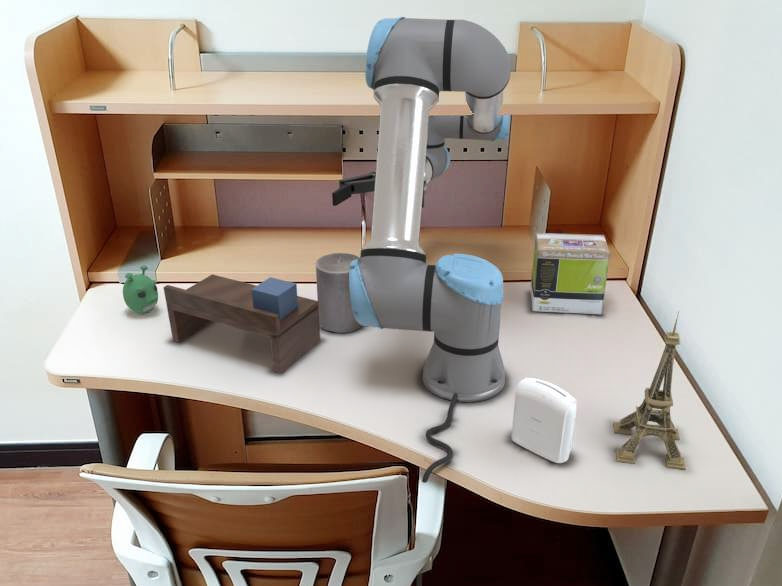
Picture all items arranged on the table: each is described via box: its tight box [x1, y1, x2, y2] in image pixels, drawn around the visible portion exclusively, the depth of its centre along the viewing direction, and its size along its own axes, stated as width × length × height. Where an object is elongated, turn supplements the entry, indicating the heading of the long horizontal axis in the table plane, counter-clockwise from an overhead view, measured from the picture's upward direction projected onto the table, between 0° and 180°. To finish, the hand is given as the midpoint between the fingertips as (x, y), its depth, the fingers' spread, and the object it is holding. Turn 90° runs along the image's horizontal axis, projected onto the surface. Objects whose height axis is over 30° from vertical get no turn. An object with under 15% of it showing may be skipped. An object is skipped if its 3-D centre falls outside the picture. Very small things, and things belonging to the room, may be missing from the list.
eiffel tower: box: [613, 310, 687, 471], centre depth 118 cm, size 11×11×25 cm
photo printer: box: [511, 377, 578, 464], centre depth 121 cm, size 10×4×12 cm, turn 47°
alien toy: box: [122, 264, 159, 315], centre depth 159 cm, size 7×8×10 cm
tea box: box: [530, 232, 611, 315], centre depth 164 cm, size 15×10×15 cm, turn 84°
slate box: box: [252, 276, 298, 320], centre depth 143 cm, size 6×6×5 cm
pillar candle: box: [314, 252, 364, 334], centre depth 155 cm, size 10×10×15 cm
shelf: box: [163, 274, 321, 374], centre depth 149 cm, size 26×14×12 cm, turn 63°
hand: (362, 205), depth 155 cm, fingers open, 13 cm apart
